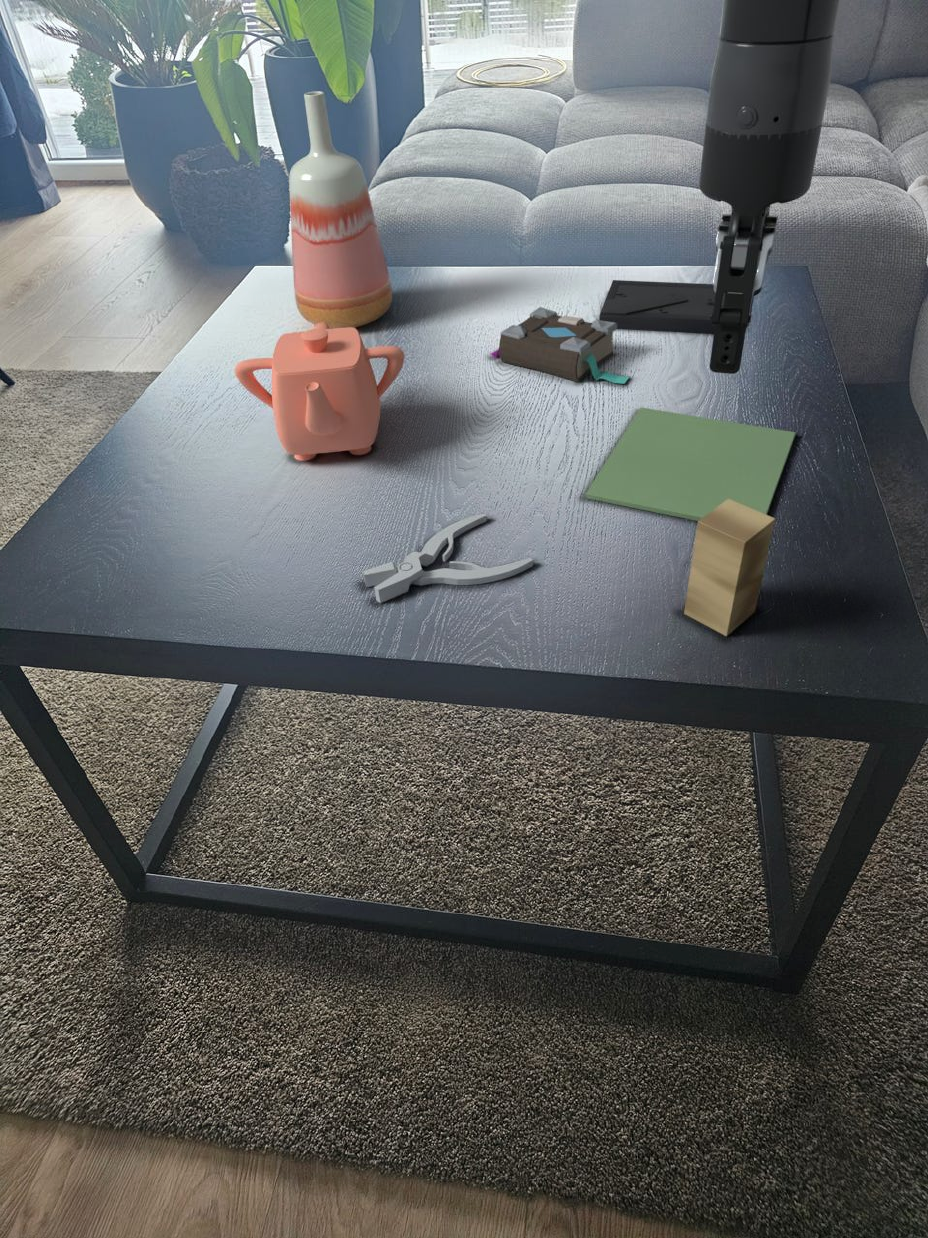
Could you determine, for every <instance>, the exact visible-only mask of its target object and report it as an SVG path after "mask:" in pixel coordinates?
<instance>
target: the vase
mask: <svg viewBox="0 0 928 1238" xmlns="http://www.w3.org/2000/svg"><path fill="white" fill-rule="evenodd" d="M303 98H304V105H305V113H306V119H307V120H306V121H307V128H308V135H309V142H310V149H309V153H308V154H307V155H306V156H304V157H302V158H301V159H299V160H298V161H296V162H295V163H294V164H293V165H292V166H291V169H290V171H289V176H288V188H289V210H290V211H289V212H290V213H289V214H290V233H291V251H292V252H291V253H292V254H291V255H292V274H293V275H292V276H293V291H294V300H295V304H296V308H297V310H298V312H299V314H300V315H301V317H302V318H304V319H305V320H306V321H307V322H309V323H310V324H312V325H314V326H315V325H316V324H318V323H326V324H328V325H329V328H330V329H333V328H347V327H353V328H355V329H356V328H359V327H362V326H363V327H364V326H366V325H369V324H371V323H373V322H375V321H377V320H378V319H380V318H381V317H382V316H383V315H385V313H387V311H388V310H389V308H390V307H391V304H392V301H393V288H392V283H391V278H390V273H389V269H388V265H387V260H386V256H385V253H384V249H383V244H382V240H381V236H380V233H379V229H378V225H377V221H376V217H375V212H374V209H373V205H372V200H371V197H370V191H369V188H368V185H367V184H368V183H367V180H366V177H365V172H364V169H363V167H362V165H361V163H359V161H358V160H357V159H356V158H355V157H352V156H351V155H348V154H345V153H344V152H339V151H337V149H336V148H335V146H334V144H333V139H332V133H331V127H330V121H329V114H328V108H327V102H326V96H325V92H324V91H319V90H315V91H309V92H305V93H304V94H303Z"/></svg>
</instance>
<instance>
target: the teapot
mask: <svg viewBox="0 0 928 1238" xmlns="http://www.w3.org/2000/svg"><path fill="white" fill-rule="evenodd" d="M373 359H386V360H387V364H386V368H385V370H384V372H383V375H382V377H381V379H380V381H379V382H378V384H377V379H376V376H375V373H374V369H373V366H372V364H371V360H373ZM404 363H405V353H404V351H403V350H402V348H400V347H398V346H394V345H381V346H374V347H368V348H366V347H365V344H364V341H363V339H362V336H361V334H360V332H359V330H358V329H357V328H356V327H355V328H353V327H347V328H333V329H330V328H329V325H328V324H326V323H318V324H316V325H315V324H314V326H313V328H312V329H307V330H302V331H295V332H294V331H293V332H288V333H283V334H282V335H280V336H279V338H278V339H277V341H276V343H275V346H274V350H273V354H272V357H259V358H248V359H245V360H242V361H240V362H238V363H237V364H236V365H235V368H234V375H235V377H236V379H237V380H238V382H239V383H240V384H241V386H242V387H243V388H245V390H247V391H248V392H249V393H251V395H253V396H254V397H255V398H257V399H258V400H260V401H261V402H262V403H264V404H265V405H266V406H268V407H269V408H271V409H272V412H273V419H274V424H275V430H276V433H277V437H278V439H279V442H280V444H281V446H282V447H283V448H284V450H285V451H286V453H287V454H288V455H292V456H293V457H294V458H295V460H296V461H301V462H305V461H310V460H313V459H314V458H315V457H317V454H329V453H335V452H336V453H337V452H343V451H348V452H349V453H350V454H351V455H354V456H362V455H365V454H368V453H370V452H371V450H372V445H374V443H375V441H376V437H377V435H378V429H379V425H380V419H381V397H382V396H383V395H384V394H385V393H386V391H388V389H389V388H390V386H392V384H393V383H394V381H395V380H396V379H397V378H398V376H399V375H400V373H401V371H402V369H403V366H404ZM260 370H271V392H269V391H268V390H267V389H266V388H265V387H264V386H263V385H262V384H261V383H260V382H259V380H257V378H256V377H255V376H256V375H255V374H254V372H255V371H260Z"/></svg>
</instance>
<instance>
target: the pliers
mask: <svg viewBox="0 0 928 1238" xmlns="http://www.w3.org/2000/svg"><path fill="white" fill-rule="evenodd" d="M487 520H488V517H487V514H486V513H485V512H483V513H479V514H476V515H472V516H469V517H466V518H463V519H461V520H458V521H456V522H454V523H452V524H450V525H448V526H446V527H445V528H443V529H441V530H440V531H438V532H437V533H436V534H435V535H433V536H431V538H430V539H428V541H427V542H425V544H424V545H423V547H422V549H421V551H412V552H411V553H408V555H405V557H404V559H403V561H402V562H401V563H399V564H398V565H397V566H396V564H395V563H394V562H393V561H390V562H386V563H384V564H380V565H378V566H375V567H372V568H369V569H366V570H363V578H364V583H365V588H371V587H373V589H374V594H375V601H376V602H377V603H379V604H382V603H384V602H386V601H390V600H391V599H394V598H396V597H398V596H401V595H403V594H406V593H408V592H409V589H410V586H411V585H415V586H426V585H431V584H445V585H446V584H447V585H454V586H473V585H481V584H486V583H487V584H488V583H491V582H493V583H494V582H497V581H501V580H504V579H508V578H511V577H513V576H516V575H519V574H521V573H522V572H524V571H526V570H528V569H530V568H532V567H533V566H534V558H532V557H527V558H524V559H521V560H518V561H514V562H510V563H507V564H503V565H502V564H501V565H498V566H493V567H492V566H491V567H483V566H481V565H479V564H476V563H473V562H468V561H449V568H448V567H447V568H446V567H443V568H437V569H433V570H427V571H425V570H423V568H422V567H429V566H430V565H431V564H433V563H434V562H435V561H436V559H437V558H438V556H439V554H440V552H441V551H442V550H443V548H444V547H445V546H446V545H448V547H447V549H446V551H445V552H444V553H443V554H442V556H441V557H442V562H444V563H446V562H447V560H448V559H449V558H450V557H451V555H452V554H453V551H454V539H456V538H457V537H459V536H460V535H462V534H463V533H465V532H467V531H469V530H471V529H472V528H473V529H474V528H475V527H478V526H479V525H482V524H484V523H487Z"/></svg>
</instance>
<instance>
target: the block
mask: <svg viewBox="0 0 928 1238" xmlns="http://www.w3.org/2000/svg"><path fill="white" fill-rule="evenodd" d="M775 523H776V518H775V517H773V516H770V515H768V514H767V515H766V514H763V513H761V512H759V511H756V510H754V509H752V508H749V507H747V506H745V505H742V504H740V503H738V502H735V501H733V500H731V499H727V500H726V501H725V502H723V503H722V504H721V505H719V506H718V507H717V508H715V509H714V510H712V511H711V512H710V513H708V514H707V515H706V516H704V517H703V518H702V519H700V520H699V521H697V524H696V530H695V531H696V532H695V536H694V537H695V538H694V543H693V544H694V545H693V550H692V558H691V565H690V570H689V578H688V584H687V590H686V598H685V603H684V604H685V605H684V611H683V614H684V615H685V616H687V617H689V618H691V619H693V620H695V621H697V622H699V623H700V624H702V625H704V626H706V627H708V628H710V629H711V630H713V631H715V632H717V633H719V634H721V635H723V636H724V637H728V636H729V635H730V634H731V633H733V631H735V630H736V629H737V628H738V627H739V626H740V625H742V624H743V623H744V622H745V621H747V619H748V618H750V617H751V616H752V615H753V614H754V613H755V612H756V609H757V604H758V599H759V595H760V590H761V585H762V582H763V577H764V572H765V567H766V563H767V558H768V554H769V550H770V545H771V541H772V536H773V532H774V527H775Z"/></svg>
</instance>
